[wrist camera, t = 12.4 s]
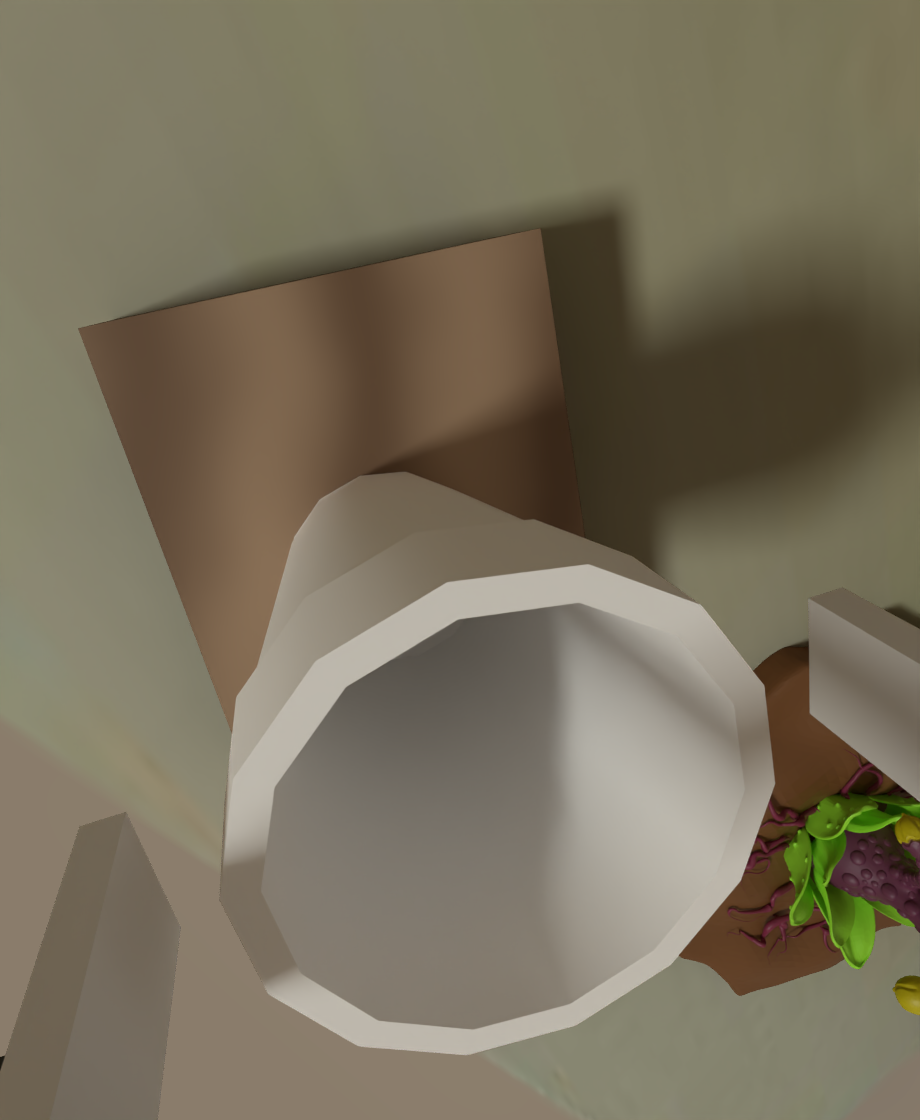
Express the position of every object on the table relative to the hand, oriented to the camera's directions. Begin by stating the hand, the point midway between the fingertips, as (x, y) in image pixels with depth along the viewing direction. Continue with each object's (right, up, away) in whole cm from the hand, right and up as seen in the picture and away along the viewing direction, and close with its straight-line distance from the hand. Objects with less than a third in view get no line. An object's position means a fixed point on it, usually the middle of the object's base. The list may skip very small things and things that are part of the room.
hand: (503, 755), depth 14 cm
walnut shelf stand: (-4, +5, +15) cm, 16 cm away
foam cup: (-3, +3, +10) cm, 11 cm away
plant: (+17, -9, +26) cm, 33 cm away
